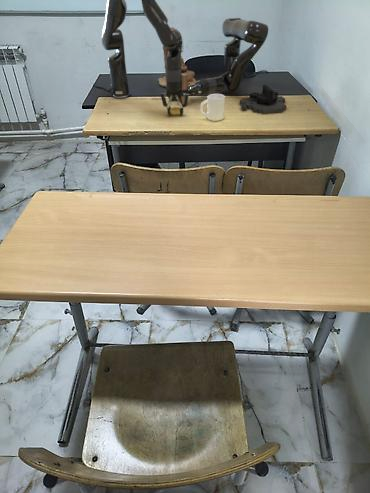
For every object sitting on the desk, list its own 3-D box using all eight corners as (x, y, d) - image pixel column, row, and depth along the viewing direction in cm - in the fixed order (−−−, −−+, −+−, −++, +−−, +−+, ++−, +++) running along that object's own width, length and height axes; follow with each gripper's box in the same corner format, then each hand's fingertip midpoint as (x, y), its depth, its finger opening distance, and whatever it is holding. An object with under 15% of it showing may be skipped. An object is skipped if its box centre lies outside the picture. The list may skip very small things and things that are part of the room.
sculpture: (197, 88, 213) (196, 30, 194) (156, 89, 214) (152, 31, 194) (196, 75, 234) (196, 22, 215) (159, 76, 235) (156, 23, 215)
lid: (168, 113, 178) (168, 110, 177) (171, 110, 182) (171, 106, 181) (179, 114, 177) (178, 111, 176) (182, 110, 181) (182, 107, 180)
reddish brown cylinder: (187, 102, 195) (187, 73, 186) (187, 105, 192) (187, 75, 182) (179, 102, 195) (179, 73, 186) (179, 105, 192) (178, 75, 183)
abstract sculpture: (248, 96, 172) (237, 84, 187) (247, 115, 178) (235, 102, 193) (298, 91, 175) (282, 80, 190) (294, 110, 181) (280, 98, 196)
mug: (201, 122, 172) (201, 100, 166) (198, 116, 178) (198, 94, 172) (225, 120, 173) (226, 98, 167) (221, 114, 180) (222, 93, 173)
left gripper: (157, 81, 168) (160, 117, 179) (187, 81, 166) (188, 118, 176) (161, 76, 173) (163, 111, 184) (190, 77, 171) (190, 112, 182)
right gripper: (199, 76, 197) (172, 81, 191) (213, 82, 187) (185, 87, 181) (199, 90, 202) (172, 95, 196) (213, 97, 192) (185, 103, 186)
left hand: (175, 114), depth 180 cm, fingers closed on lid, 5 cm apart
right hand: (179, 91), depth 188 cm, fingers closed on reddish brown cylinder, 4 cm apart
